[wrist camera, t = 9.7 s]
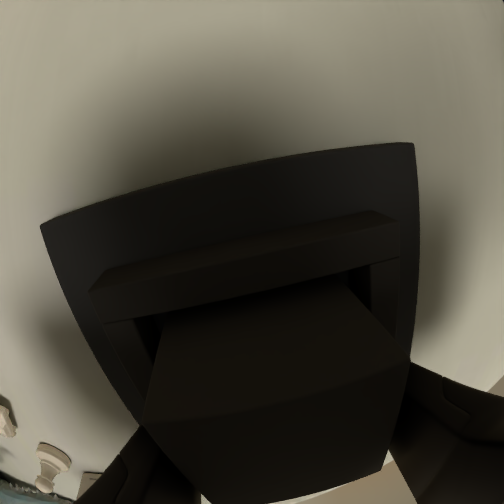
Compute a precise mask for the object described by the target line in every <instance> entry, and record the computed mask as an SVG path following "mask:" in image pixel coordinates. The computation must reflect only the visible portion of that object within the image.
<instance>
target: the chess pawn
mask: <svg viewBox="0 0 504 504" xmlns="http://www.w3.org/2000/svg"><path fill="white" fill-rule="evenodd" d="M36 455H37V457H38V458H39V459H40V460H41V461H40V464H41V475H37V477H38V478H37V479H36V480H35V485H36V487H37V488H38V489H39V490H40V491H42V492H44V493H51V492H52V491H53V486H54V485H55V484H54V483H53V482H52V480H53V479H54V477H55V476H56V475H57V474H60V471H62V472H67V471H68V470H69V468H70V465H71V461H70V460H69V458H68V457H67V456H66V455H65V454H64V453H63V452H61V451H60V450H58V449H56V448H55V447H52V446H50V445H47V444H39V445H38V448H37V450H36Z"/></svg>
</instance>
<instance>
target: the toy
mask: <svg viewBox="0 0 504 504" xmlns="http://www.w3.org/2000/svg"><path fill="white" fill-rule="evenodd" d="M15 485H16V488H15V487H13V485H12V484H11V483H10V484H9V483H8V482H7V481H6V480H4V479H0V504H73V503H72V502H70V501H69V500H62V499H59V498H58V496H57V495H56V494H55V496H54V497H52V496H50V495H49V494H48V493H46V494H45V495H44V494H42V493H41V492H39V490H38V489H37V492H36V493H33V492H32V491H31V489H30V488H29V487H28V491H25V490H24V488H23V487H22V488H21V489H19V486H18V485H17V484H15Z"/></svg>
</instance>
